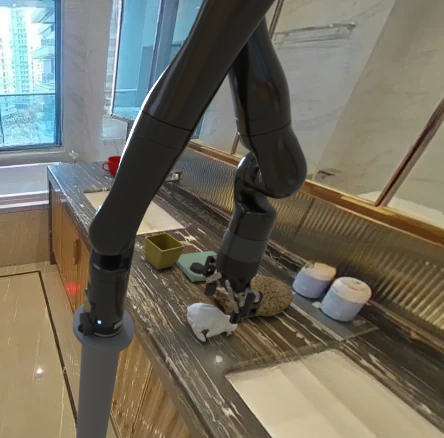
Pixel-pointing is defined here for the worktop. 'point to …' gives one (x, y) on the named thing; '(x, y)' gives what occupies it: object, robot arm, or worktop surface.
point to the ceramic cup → (112, 164)
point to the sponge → (272, 296)
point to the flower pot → (162, 250)
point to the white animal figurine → (208, 320)
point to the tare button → (197, 268)
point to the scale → (188, 259)
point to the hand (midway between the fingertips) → (220, 308)
